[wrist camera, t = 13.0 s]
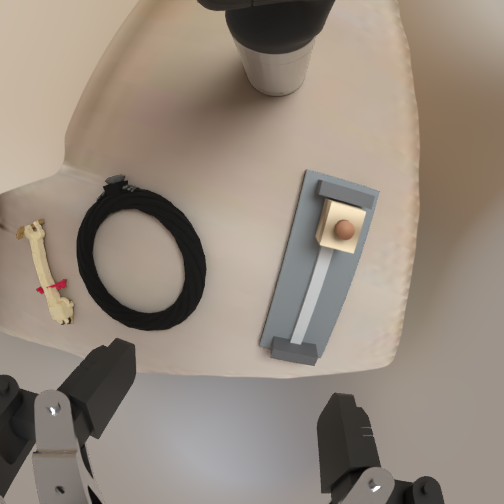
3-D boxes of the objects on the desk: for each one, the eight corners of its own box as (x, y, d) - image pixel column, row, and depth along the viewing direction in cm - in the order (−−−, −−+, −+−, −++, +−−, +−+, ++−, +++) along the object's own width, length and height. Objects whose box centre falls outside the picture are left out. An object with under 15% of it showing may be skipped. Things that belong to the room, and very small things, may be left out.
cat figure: (31, 226, 51) (61, 323, 56) (6, 232, 43) (39, 337, 47) (53, 215, 49) (85, 320, 54) (26, 220, 41) (63, 337, 46)
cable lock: (98, 333, 51) (56, 195, 43) (106, 325, 55) (68, 193, 47) (218, 333, 47) (182, 157, 39) (222, 322, 51) (190, 157, 43)
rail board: (306, 169, 41) (310, 169, 36) (376, 190, 41) (388, 193, 36) (260, 341, 51) (257, 359, 46) (319, 353, 51) (322, 371, 45)
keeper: (325, 197, 40) (334, 203, 33) (356, 206, 39) (369, 213, 33) (315, 236, 41) (321, 248, 35) (345, 243, 41) (356, 257, 35)
